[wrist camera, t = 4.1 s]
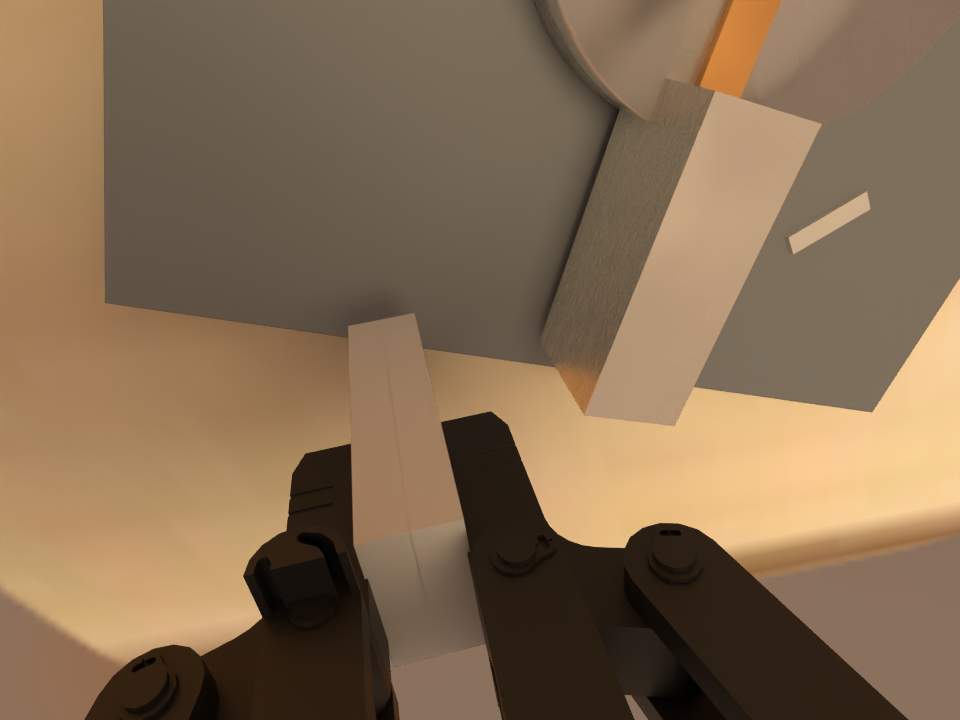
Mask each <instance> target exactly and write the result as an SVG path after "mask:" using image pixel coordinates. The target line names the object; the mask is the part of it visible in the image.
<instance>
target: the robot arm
mask: <svg viewBox="0 0 960 720" xmlns="http://www.w3.org/2000/svg"><path fill="white" fill-rule="evenodd" d="M348 342H349V382H350V422H351V444H348V445H343V446H338V447H334V448H329V449H325V450H320V451H316V452H311V453H306V454H305V455H304V457H303V458H302V460H301V461H300V463H299V465H298V466H297V468H296V469H295V471H294V472H293V474H292V482H291V492H290V496H291V499H290V502H289V512H288V513H289V517H288V522H287V531H285V532H283V533H280V534H278V535H277V536H275V537H274V538H272V539H271V540H269V541H268V542H266V543H265V544H263V545H262V546H261V547H260V548H259V550H258V551H257V552H256V553H255V554H254V555H253V557H252V558H251V559H250V560H249V563H248V565H247V568H246V570H245V573H244V575H243V577H244V579H245V581H246V583H247V585H248V587H249V590H250V592H251V594H252V596H253V598H254V600H255V602H256V604H257V606H258V608H259V611H260V613H261V615H262V617H263V618H262V619H261V620H259V621H258V622H257V623H256V624H255V625H254V626H253V627H251V628H250V629H249V630H247V631H246V632H244V633H243V634H241V635H239V636H238V637H236V638H235V639H233V640H231V641H229V642H227V643H225V644H223V645H221V646H220V647H218V648H216V649H214V650H212V651H210V652H208V653H206V654H204V655H203V656H201V657H200V656H199V655H198V654H197V653H196V652H195V651H194V650H193V649H191V648H190V647H185V646H179V645H170V646H165V647H160V648H155V649H152V650H150V651H149V652H147V653H145V654H143V655H141V656H139V657H137V658H135V659H133V660H132V661H130V662H129V663H128V664H127V665H126V666H124V667H123V668H122V669H121V670H120V671H118V672H117V673H116V674H115V675H114V676H113V677H112V678H111V680H110V681H109V682H108V684H107V685H106V686H105V687H104V689H103V690H102V691H101V693H100V694H99V695H98V697H97V699H96V701H95V702H94V704H93V706H92V708H91V709H90V711H89V713H88V714H87V716H86V718H85V720H399V708H398V701H397V698H396V695H395V692H394V689H393V686H392V683H391V671H390V659H389V655H390V658H391V661H392V664H393V667H398V666H402V665H406V664H409V663H413V662H417V661H421V660H425V659H429V658H433V657H437V656H441V655H445V654H448V653H452V652H456V651H460V650H464V649H468V648H472V647H476V646H480V645H484V644H486V647H487V652H488V656H489V661H490V666H491V671H492V676H493V682H494V687H495V692H496V697H497V702H498V707H499V708H500V713H501V717H502V720H634V718H633V715H632V713H631V710H630V708H629V705H628V703H627V700H626V698H625V695H632V697H633V699H634V700H635V701H636V703H637V704H638V706H639V707H640V708H641V710H642V711H643V713H644V714H645V715H646V717H647V718H648V720H908V719H907V718H906V717H905V716H904V715H903V714H902V713H900V712H899V711H898V710H897V709H896V708H895V707H894V706H893V705H892V704H891V703H890V702H888V700H886V699H885V698H884V697H883V696H882V695H881V694H880V693H879V692H878V691H877V690H876V689H874V688H873V687H872V686H871V685H870V684H869V683H868V682H867V681H866V680H865V679H864V678H863V677H861V676H860V675H859V674H858V673H857V672H856V671H855V670H854V669H853V668H852V667H851V666H849V665H848V664H847V663H846V662H845V661H844V660H843V659H842V658H841V657H840V656H839V655H838V654H837V653H835V652H834V651H833V650H832V649H831V648H830V647H829V646H828V645H827V644H826V643H825V642H823V641H822V640H821V639H820V638H819V637H818V636H817V635H816V634H815V633H814V632H813V631H812V630H811V629H809V628H808V627H807V626H806V625H805V624H804V623H803V622H802V621H801V620H800V619H799V618H797V617H796V616H795V615H794V614H793V613H792V612H791V611H790V610H789V609H788V608H787V607H786V606H784V605H783V604H782V603H781V602H780V601H779V600H778V599H777V598H776V597H775V596H774V595H773V594H771V593H770V592H769V591H768V590H767V589H766V588H765V587H764V586H763V585H762V584H761V583H760V582H758V581H757V580H756V579H755V578H754V577H753V576H752V575H751V574H750V573H749V572H748V571H747V570H745V569H744V568H743V567H742V566H741V565H740V564H739V563H738V562H737V561H736V560H735V559H733V558H732V557H731V556H730V555H729V554H728V553H727V552H726V551H725V550H724V549H723V548H722V547H720V546H719V545H718V544H717V543H716V542H715V541H714V540H713V539H711V538H710V537H708V536H707V535H705V534H704V533H702V532H701V531H699V530H698V529H694V528H691V527H688V526H685V525H682V524H673V523H659V524H655V525H651V526H648V527H644V528H642V529H641V530H639V531H638V532H637V533H635V534H634V535H633V536H631V537H630V539H629V541H628V543H627V545H626V547H625V548H604V547H591V546H583V545H580V544H577V543H574V542H571V541H568V540H567V539H565V538H563V537H562V536H560V535H558V534H557V533H556V532H555V531H554V530H553V529H552V528H551V527H550V526H549V524H548V523H547V521H546V519H545V518H544V515H543V513H542V510H541V508H540V505H539V503H538V500H537V498H536V495H535V493H534V490H533V488H532V485H531V483H530V480H529V477H528V475H527V472H526V470H525V467H524V465H523V462H522V461H521V457H520V455H519V452H518V450H517V447H516V446H515V442H514V440H513V437H512V435H511V432H510V429H509V427H508V425H507V424H506V423H505V422H504V421H502V420H501V419H500V418H498V417H497V416H496V415H495V414H493V413H492V412H491V411H490V412H486V413H481V414H477V415H472V416H467V417H463V418H458V419H454V420H449V421H444V422H440V417H439V413H438V409H437V405H436V401H435V397H434V392H433V388H432V384H431V380H430V376H429V371H428V367H427V363H426V359H425V355H424V351H423V346H422V342H421V338H420V334H419V330H418V325H417V321H416V317H415V313H411V314H406V315H401V316H396V317H391V318H386V319H381V320H376V321H371V322H366V323H361V324H356V325H351V326H348Z"/></svg>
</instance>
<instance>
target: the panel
mask: <svg viewBox="0 0 960 720" xmlns="http://www.w3.org/2000/svg"><path fill="white" fill-rule="evenodd" d="M103 43H104V202H105V303H109V304H116V305H123V306H130V307H137V308H144V309H151V310H158V311H165V312H172V313H179V314H186V315H193V316H200V317H207V318H214V319H221V320H228V321H235V322H242V323H249V324H256V325H263V326H270V327H277V328H284V329H291V330H298V331H305V332H312V333H319V334H326V335H333V336H340V337H347V338H348V326H351V325H356V324H361V323H366V322H371V321H376V320H381V319H386V318H391V317H396V316H401V315H406V314H411V313H415V317H416V321H417V325H418V330H419V334H420V338H421V342H422V346H423V348H424V349H431V350H438V351H445V352H452V353H460V354H467V355H474V356H481V357H488V358H495V359H502V360H509V361H516V362H523V363H530V364H537V365H544V366H551V367H555V365H554V364H553V362H552V360H551V358H550V357H549V355H548V353H547V352H546V350H545V348H544V347H543V345H542V343H541V342H540V339H541V336H542V334H543V331H544V328H545V325H546V322H547V319H548V316H549V313H550V310H551V308H552V305H553V302H554V299H555V296H556V293H557V290H558V287H559V284H560V281H561V279H562V276H563V273H564V270H565V267H566V264H567V261H568V258H569V255H570V253H571V250H572V247H573V244H574V241H575V238H576V235H577V232H578V229H579V226H580V224H581V221H582V218H583V215H584V212H585V209H586V206H587V203H588V200H589V198H590V195H591V192H592V189H593V186H594V183H595V180H596V177H597V174H598V171H599V169H600V166H601V163H602V160H603V157H604V154H605V151H606V148H607V145H608V143H609V140H610V137H611V134H612V131H613V128H614V125H615V122H616V119H617V116H618V114H619V111H620V110H619V109H617V108H615V107H614V106H612V105H610V104H609V103H608V102H606V101H605V100H604V99H603V98H601V97H600V96H599V95H597V94H596V93H595V92H594V91H592V90H591V89H590V88H589V87H588V86H587V85H586V84H585V83H584V82H583V81H582V79H581V78H580V77H579V76H578V75H577V74H576V73H575V72H574V71H573V70H572V69H571V67H570V66H569V65H568V63H567V62H566V60H565V59H564V57H563V56H562V55H561V53H560V52H559V50H558V49H557V47H556V46H555V45H554V43H553V41H552V39H551V37H550V35H549V33H548V31H547V29H546V27H545V25H544V23H543V21H542V20H541V18H540V15H539V13H538V10H537V7H536V5H535V2H534V0H103ZM959 278H960V16H959V17H958V19H957V20H956V21H955V22H954V23H953V25H952V26H951V27H950V28H949V29H948V31H947V32H946V33H945V34H944V35H943V36H942V38H941V39H940V40H939V41H938V42H937V44H936V45H935V46H934V47H933V48H932V49H931V50H930V51H929V52H928V53H927V54H926V55H925V56H924V57H923V58H922V59H921V60H920V61H919V62H918V63H917V64H916V65H915V66H914V67H913V68H912V69H911V70H910V71H909V72H908V73H907V74H906V75H905V76H904V77H902V78H901V79H900V80H899V81H898V82H896V83H895V84H894V85H893V86H892V87H890V88H889V89H888V90H887V91H886V92H884V93H883V94H882V95H881V96H879V97H878V98H876V99H875V100H873V101H872V102H870V103H869V104H867V105H866V106H864V107H863V108H861V109H860V110H859V111H857V112H856V113H854V114H852V115H850V116H848V117H846V118H844V119H843V120H841V121H839V122H837V123H835V124H833V125H831V126H829V127H827V128H825V129H822V130H820V131H818V133H817V135H816V137H815V139H814V141H813V143H812V145H811V147H810V149H809V151H808V153H807V155H806V157H805V160H804V162H803V164H802V166H801V168H800V170H799V172H798V174H797V176H796V178H795V180H794V182H793V184H792V186H791V188H790V190H789V192H788V194H787V196H786V198H785V201H784V203H783V205H782V207H781V209H780V211H779V213H778V215H777V217H776V219H775V221H774V223H773V225H772V227H771V229H770V231H769V233H768V235H767V237H766V239H765V242H764V244H763V246H762V248H761V250H760V252H759V254H758V256H757V258H756V260H755V262H754V264H753V266H752V268H751V270H750V272H749V274H748V276H747V278H746V280H745V283H744V285H743V287H742V289H741V291H740V293H739V295H738V297H737V299H736V301H735V303H734V305H733V307H732V309H731V311H730V313H729V315H728V317H727V319H726V321H725V324H724V326H723V328H722V330H721V332H720V334H719V336H718V338H717V340H716V342H715V344H714V346H713V348H712V350H711V352H710V354H709V356H708V358H707V360H706V362H705V364H704V367H703V369H702V371H701V373H700V375H699V377H698V379H697V381H696V383H695V385H694V387H698V388H705V389H712V390H719V391H726V392H733V393H740V394H747V395H754V396H761V397H768V398H775V399H782V400H789V401H796V402H803V403H810V404H817V405H824V406H831V407H838V408H845V409H852V410H859V411H866V412H873V410H874V409H875V407H876V406H877V404H878V403H879V401H880V400H881V398H882V396H883V395H884V393H885V392H886V390H887V389H888V387H889V386H890V384H891V383H892V381H893V380H894V378H895V377H896V375H897V373H898V372H899V370H900V369H901V367H902V366H903V364H904V363H905V361H906V360H907V358H908V357H909V355H910V354H911V352H912V350H913V349H914V347H915V346H916V344H917V343H918V341H919V340H920V338H921V337H922V335H923V334H924V332H925V331H926V329H927V327H928V326H929V324H930V323H931V321H932V320H933V318H934V317H935V315H936V314H937V312H938V311H939V309H940V308H941V306H942V304H943V303H944V301H945V300H946V298H947V297H948V295H949V294H950V292H951V291H952V289H953V288H954V286H955V285H956V283H957V281H958V280H959Z"/></svg>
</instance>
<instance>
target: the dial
mask: <svg viewBox="0 0 960 720" xmlns="http://www.w3.org/2000/svg"><path fill="white" fill-rule="evenodd" d="M534 2H535V5H536V7H537V10H538V13H539V15H540V18H541V20H542V21H543V23H544V25H545V27H546V29H547V31H548V33H549V35H550V37H551V39H552V41H553V43H554V45H555V46H556V47H557V49H558V50H559V52H560V53H561V55H562V56H563V57H564V59H565V60H566V62H567V63H568V65H569V66H570V67H571V69H572V70H573V71H574V72H575V73H576V74H577V75H578V76H579V77H580V78H581V79H582V81H583V82H584V83H585V84H586V85H587V86H588V87H589V88H590V89H591V90H592V91H594V92H595V93H596V94H597V95H599V96H600V97H601V98H603V99H604V100H605V101H606V102H608V103H609V104H610V105H612V106H614V107H615V108H617V109H619V110H620V111H619V114H618V116H617V119H616V122H615V125H614V128H613V131H612V134H611V137H610V140H609V143H608V145H607V148H606V151H605V154H604V157H603V160H602V163H601V166H600V169H599V171H598V174H597V177H596V180H595V183H594V186H593V189H592V192H591V195H590V198H589V200H588V203H587V206H586V209H585V212H584V215H583V218H582V221H581V224H580V226H579V229H578V232H577V235H576V238H575V241H574V244H573V247H572V250H571V253H570V255H569V258H568V261H567V264H566V267H565V270H564V273H563V276H562V279H561V281H560V284H559V287H558V290H557V293H556V296H555V299H554V302H553V305H552V308H551V310H550V313H549V316H548V319H547V322H546V325H545V328H544V331H543V334H542V336H541V339H540V342H541V343H542V345H543V347H544V348H545V350H546V352H547V353H548V355H549V357H550V358H551V360H552V362H553V364H554V365H555V367H556V369H557V370H558V372H559V374H560V375H561V377H562V379H563V380H564V382H565V384H566V386H567V387H568V389H569V391H570V392H571V394H572V396H573V397H574V399H575V401H576V402H577V404H578V406H579V408H580V409H581V411H582V413H583V414H584V415H587V416H595V417H604V418H612V419H620V420H629V421H637V422H645V423H654V424H662V425H671V426H675V424H676V422H677V420H678V418H679V416H680V414H681V412H682V410H683V408H684V405H685V403H686V401H687V399H688V397H689V395H690V393H691V391H692V389H693V387H694V385H695V383H696V381H697V379H698V377H699V375H700V373H701V371H702V369H703V367H704V364H705V362H706V360H707V358H708V356H709V354H710V352H711V350H712V348H713V346H714V344H715V342H716V340H717V338H718V336H719V334H720V332H721V330H722V328H723V326H724V324H725V321H726V319H727V317H728V315H729V313H730V311H731V309H732V307H733V305H734V303H735V301H736V299H737V297H738V295H739V293H740V291H741V289H742V287H743V285H744V283H745V280H746V278H747V276H748V274H749V272H750V270H751V268H752V266H753V264H754V262H755V260H756V258H757V256H758V254H759V252H760V250H761V248H762V246H763V244H764V242H765V239H766V237H767V235H768V233H769V231H770V229H771V227H772V225H773V223H774V221H775V219H776V217H777V215H778V213H779V211H780V209H781V207H782V205H783V203H784V201H785V198H786V196H787V194H788V192H789V190H790V188H791V186H792V184H793V182H794V180H795V178H796V176H797V174H798V172H799V170H800V168H801V166H802V164H803V162H804V160H805V157H806V155H807V153H808V151H809V149H810V147H811V145H812V143H813V141H814V139H815V137H816V135H817V133H818V131H820V130H822V129H825V128H827V127H829V126H831V125H833V124H835V123H837V122H839V121H841V120H843V119H844V118H846V117H848V116H850V115H852V114H854V113H856V112H857V111H859V110H860V109H861V108H863V107H864V106H866V105H867V104H869V103H870V102H872V101H873V100H875V99H876V98H878V97H879V96H881V95H882V94H883V93H884V92H886V91H887V90H888V89H889V88H890V87H892V86H893V85H894V84H895V83H896V82H898V81H899V80H900V79H901V78H902V77H904V76H905V75H906V74H907V73H908V72H909V71H910V70H911V69H912V68H913V67H914V66H915V65H916V64H917V63H918V62H919V61H920V60H921V59H922V58H923V57H924V56H925V55H926V54H927V53H928V52H929V51H930V50H931V49H932V48H933V47H934V46H935V45H936V44H937V42H938V41H939V40H940V39H941V38H942V36H943V35H944V34H945V33H946V32H947V31H948V29H949V28H950V27H951V26H952V25H953V23H954V22H955V21H956V20H957V19H958V17H959V16H960V0H534Z"/></svg>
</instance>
